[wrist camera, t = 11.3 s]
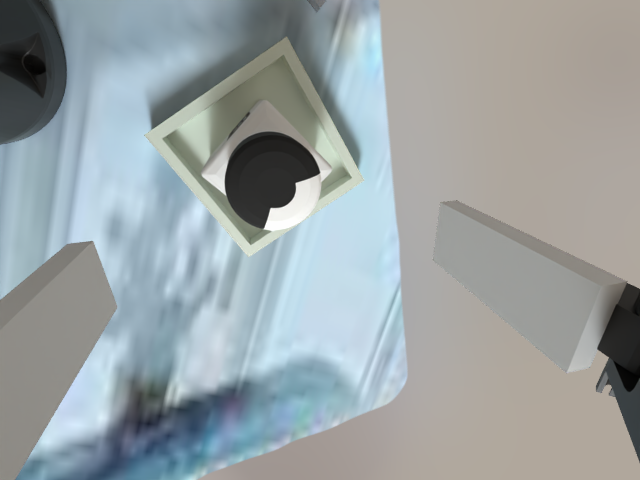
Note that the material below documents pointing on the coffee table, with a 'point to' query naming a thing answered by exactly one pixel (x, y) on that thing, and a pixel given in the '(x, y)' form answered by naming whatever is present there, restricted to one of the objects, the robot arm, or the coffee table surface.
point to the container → (267, 170)
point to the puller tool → (316, 4)
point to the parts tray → (224, 115)
